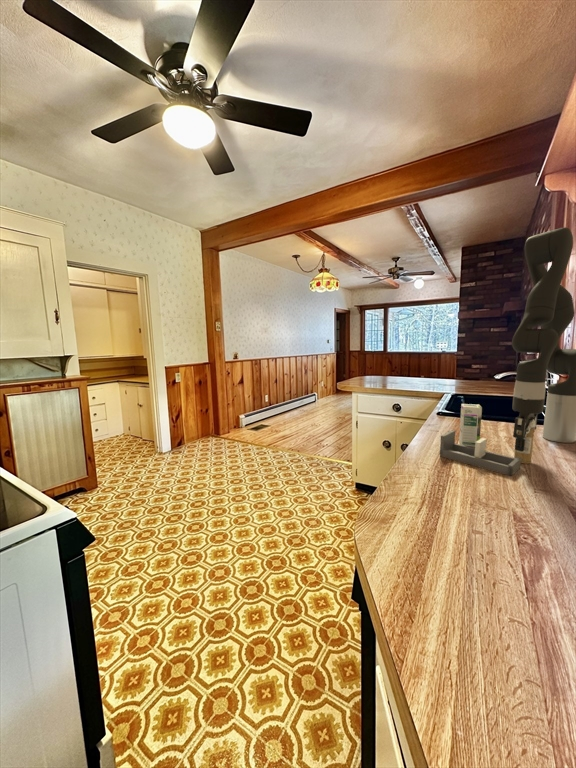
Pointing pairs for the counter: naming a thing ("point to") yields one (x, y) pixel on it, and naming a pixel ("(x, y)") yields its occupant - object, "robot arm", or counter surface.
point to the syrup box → (470, 424)
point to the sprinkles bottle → (527, 447)
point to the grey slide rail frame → (467, 456)
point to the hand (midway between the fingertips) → (523, 447)
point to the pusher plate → (480, 448)
